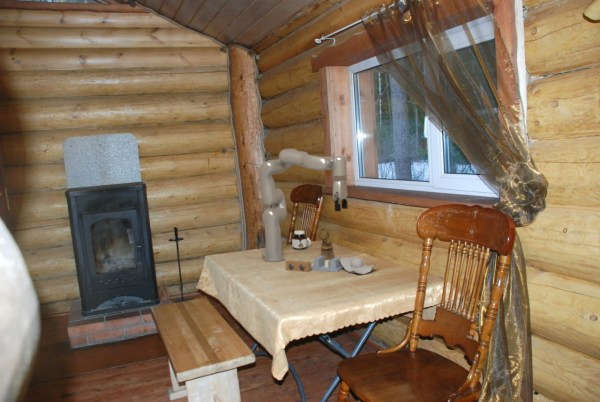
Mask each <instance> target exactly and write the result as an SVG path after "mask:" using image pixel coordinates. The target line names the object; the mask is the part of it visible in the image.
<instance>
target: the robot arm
mask: <svg viewBox="0 0 600 402" xmlns="http://www.w3.org/2000/svg"><path fill="white" fill-rule="evenodd" d="M292 166H297V167H303V168H306V169H309V170H313V171H319V172H320V171H322V172H323V171H330V170H332V182H333V185H332V199H333V204H334V211H335V212H341V209H343V210H346V209H348V196H349V193H348V187H347V185H348V184H347V182H348V174H347V173H348V171H347V168H348V167H347V158H346V156H343V155H342V156H341V155H339V156H329V155H328V156H327V155H326V156H317V155H311V154H308V152H307V151H302V150H297V149H296V148H284V149H282V150H280V152H279V154H278V159H269V160H267V161H264V162H263V163H261V164H260V166H259V168H258V173H257V174H258V178H259V179H258V180H259V183H260V184H259V185H260V191H261V199H262V203H263V204H264V205H266V206H271V207H269V208H266V209H265V210H264V211H263V213H262V221H263V226H264V237H265V238H264V239H265V251H262V252H261V256H262V257H263V256H264V257H263V261H265V262H269V263H274V262H275V263H277V262H282V261H285V259H286V257H285V256H284V255H283V248H282V230H281V226H280V223H279V222H283V221H284V220H285V219H286V217H287V214H288V210H287V202H286V197H285V193H284V191H283V190H281V189H280V188H276V185H275V180H274V177H273V175H278V174H283V173H284V172H286V171H288V170H289V169H291V167H292Z"/></svg>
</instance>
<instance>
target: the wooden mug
mask: <svg viewBox="0 0 600 402" xmlns="http://www.w3.org/2000/svg"><path fill="white" fill-rule="evenodd" d="M318 237H319V239H320V240H322V242H321V245H320V256H325V261H326V260H331V259H333V258H335V254H334V253H335V252H334V246H333V243H332V242H330V241H329V242H328V238H329V237H330V234H329V232H328V230H326V229H325V228H322V229H321V230H320V231H319V232H318Z"/></svg>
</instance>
